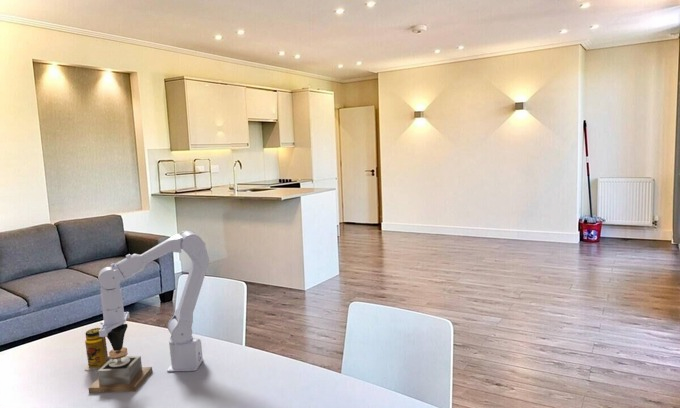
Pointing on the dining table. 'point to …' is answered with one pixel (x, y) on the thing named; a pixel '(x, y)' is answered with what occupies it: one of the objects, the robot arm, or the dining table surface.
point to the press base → (121, 377)
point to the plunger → (119, 358)
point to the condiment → (96, 349)
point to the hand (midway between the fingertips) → (118, 349)
